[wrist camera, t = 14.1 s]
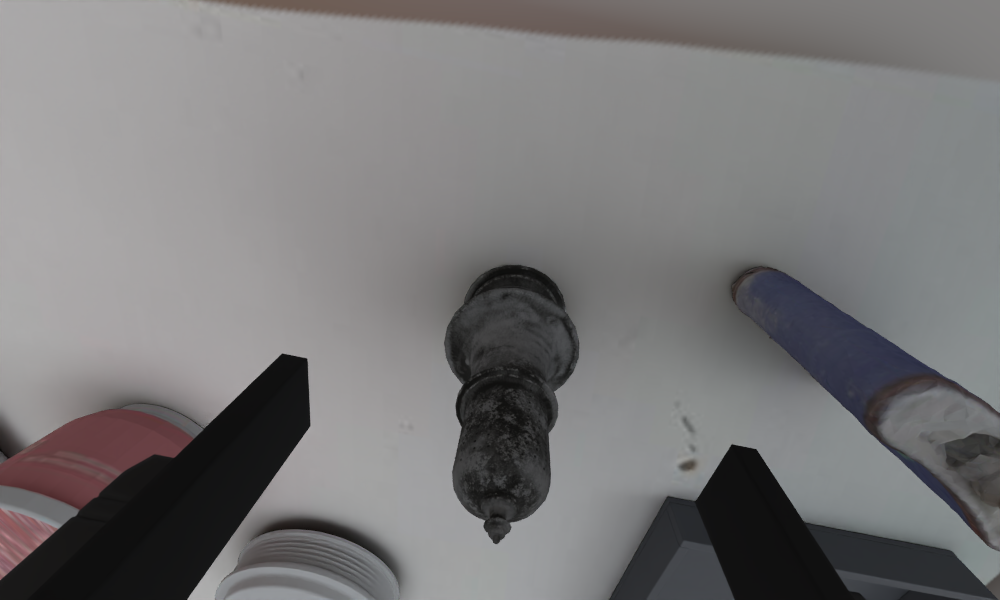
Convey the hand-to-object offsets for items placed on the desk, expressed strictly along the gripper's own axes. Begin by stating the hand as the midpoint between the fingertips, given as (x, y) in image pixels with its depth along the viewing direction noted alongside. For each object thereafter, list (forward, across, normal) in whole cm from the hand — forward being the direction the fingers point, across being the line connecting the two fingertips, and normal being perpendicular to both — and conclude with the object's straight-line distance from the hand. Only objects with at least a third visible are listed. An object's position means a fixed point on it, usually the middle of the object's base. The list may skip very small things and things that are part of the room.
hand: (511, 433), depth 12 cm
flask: (+9, +14, +2) cm, 17 cm away
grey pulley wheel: (+8, -10, -26) cm, 30 cm away
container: (+8, -21, -16) cm, 28 cm away
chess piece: (+9, 0, 0) cm, 9 cm away
